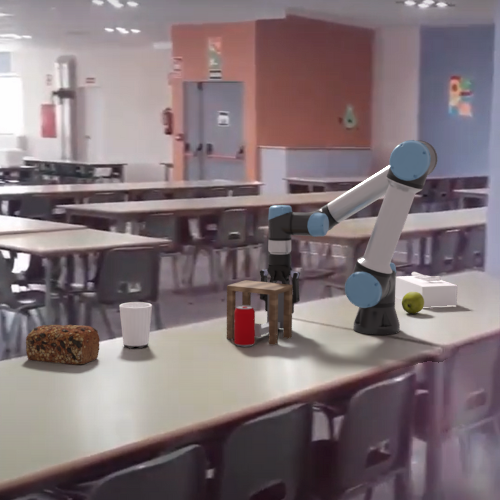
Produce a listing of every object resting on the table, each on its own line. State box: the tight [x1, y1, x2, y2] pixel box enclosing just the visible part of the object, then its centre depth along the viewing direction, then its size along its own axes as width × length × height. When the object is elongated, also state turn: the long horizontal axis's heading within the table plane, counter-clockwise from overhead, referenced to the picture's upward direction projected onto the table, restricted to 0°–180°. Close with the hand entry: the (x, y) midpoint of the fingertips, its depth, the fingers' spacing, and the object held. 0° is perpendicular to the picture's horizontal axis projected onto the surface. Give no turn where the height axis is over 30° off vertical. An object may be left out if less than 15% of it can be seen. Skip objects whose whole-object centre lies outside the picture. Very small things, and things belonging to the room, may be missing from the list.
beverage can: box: [233, 304, 256, 348], centre depth 282 cm, size 6×6×12 cm
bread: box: [25, 324, 101, 365], centre depth 263 cm, size 19×11×10 cm, turn 69°
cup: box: [118, 301, 153, 349], centre depth 279 cm, size 10×10×13 cm
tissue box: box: [395, 271, 458, 307], centre depth 357 cm, size 14×25×11 cm, turn 16°
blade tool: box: [255, 292, 284, 338], centre depth 296 cm, size 6×23×12 cm, turn 152°
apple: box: [401, 292, 424, 314], centre depth 334 cm, size 8×9×8 cm
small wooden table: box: [226, 279, 293, 346], centre depth 291 cm, size 17×12×17 cm
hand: (279, 322), depth 304 cm, fingers closed on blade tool, 6 cm apart
